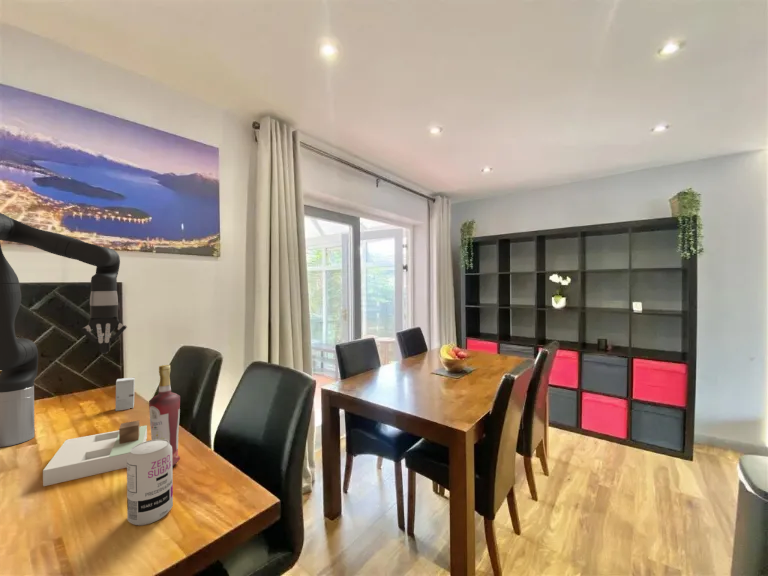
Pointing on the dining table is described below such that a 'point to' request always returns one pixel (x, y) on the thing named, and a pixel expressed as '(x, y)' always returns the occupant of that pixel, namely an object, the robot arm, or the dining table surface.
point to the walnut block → (129, 432)
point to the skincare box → (125, 393)
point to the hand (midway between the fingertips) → (104, 353)
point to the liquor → (165, 413)
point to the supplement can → (149, 481)
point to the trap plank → (89, 456)
